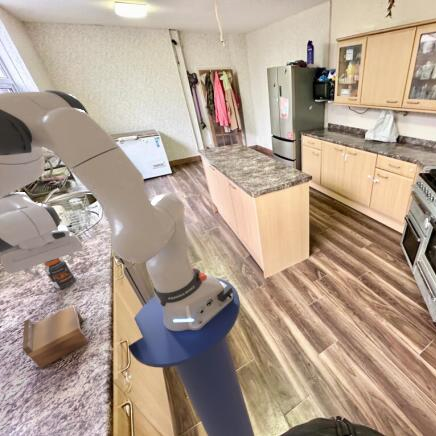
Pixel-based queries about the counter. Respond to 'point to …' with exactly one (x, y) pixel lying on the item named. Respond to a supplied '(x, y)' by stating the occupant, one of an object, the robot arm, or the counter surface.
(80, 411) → the counter surface
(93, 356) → the counter surface
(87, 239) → the counter surface
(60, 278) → the pill bottle
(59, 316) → the tan scooped block
